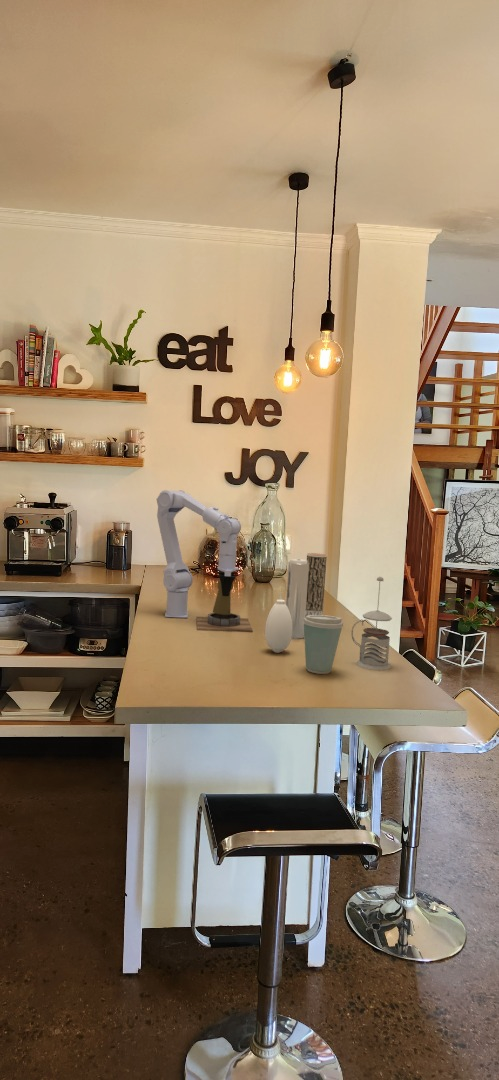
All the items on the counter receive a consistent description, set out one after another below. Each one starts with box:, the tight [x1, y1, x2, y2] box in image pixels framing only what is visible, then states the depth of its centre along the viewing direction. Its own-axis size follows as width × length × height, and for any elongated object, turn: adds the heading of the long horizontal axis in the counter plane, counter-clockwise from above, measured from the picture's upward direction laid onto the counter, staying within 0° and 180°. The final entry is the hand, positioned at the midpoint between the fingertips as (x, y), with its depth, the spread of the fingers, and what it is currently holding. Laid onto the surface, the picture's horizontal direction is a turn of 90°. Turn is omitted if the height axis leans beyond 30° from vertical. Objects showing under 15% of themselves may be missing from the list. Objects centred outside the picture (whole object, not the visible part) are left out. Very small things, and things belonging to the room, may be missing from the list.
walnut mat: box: [196, 615, 253, 633], centre depth 231 cm, size 18×18×1 cm
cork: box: [212, 580, 234, 615], centre depth 230 cm, size 6×6×11 cm
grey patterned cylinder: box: [305, 552, 328, 617], centre depth 237 cm, size 7×7×25 cm
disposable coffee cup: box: [303, 614, 344, 675], centre depth 182 cm, size 11×11×15 cm
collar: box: [207, 612, 241, 627], centre depth 231 cm, size 11×11×2 cm
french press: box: [351, 576, 393, 671], centre depth 191 cm, size 10×12×25 cm
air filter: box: [285, 558, 309, 640], centre depth 219 cm, size 6×6×25 cm
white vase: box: [264, 591, 292, 654], centre depth 199 cm, size 8×8×18 cm
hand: (225, 594), depth 230 cm, fingers closed on cork, 5 cm apart
